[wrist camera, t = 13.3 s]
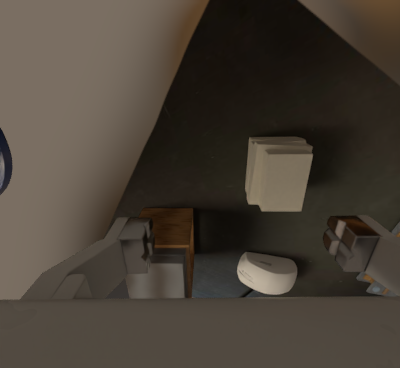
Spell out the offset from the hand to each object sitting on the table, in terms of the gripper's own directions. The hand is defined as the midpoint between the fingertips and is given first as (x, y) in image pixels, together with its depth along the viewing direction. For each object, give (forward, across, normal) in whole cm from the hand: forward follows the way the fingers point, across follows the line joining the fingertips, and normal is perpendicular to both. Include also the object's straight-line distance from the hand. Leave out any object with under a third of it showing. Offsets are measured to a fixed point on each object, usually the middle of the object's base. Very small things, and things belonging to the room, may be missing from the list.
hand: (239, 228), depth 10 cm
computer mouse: (+28, -13, +31) cm, 43 cm away
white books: (+28, -11, +7) cm, 31 cm away
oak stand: (+28, +8, +22) cm, 37 cm away
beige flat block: (+22, -10, +7) cm, 25 cm away
